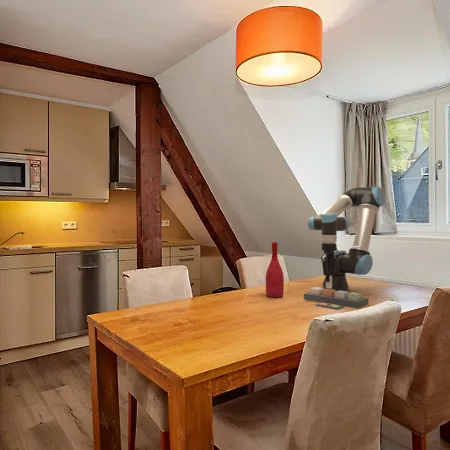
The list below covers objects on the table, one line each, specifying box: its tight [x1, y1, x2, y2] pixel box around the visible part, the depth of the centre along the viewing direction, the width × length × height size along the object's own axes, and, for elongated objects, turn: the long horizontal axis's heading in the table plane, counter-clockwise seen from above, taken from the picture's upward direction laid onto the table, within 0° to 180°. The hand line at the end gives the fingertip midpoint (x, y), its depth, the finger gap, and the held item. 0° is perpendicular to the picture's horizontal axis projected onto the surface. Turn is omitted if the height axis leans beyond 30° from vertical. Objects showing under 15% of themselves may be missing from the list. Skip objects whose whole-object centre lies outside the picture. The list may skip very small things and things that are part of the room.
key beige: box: [335, 290, 349, 299], centre depth 201 cm, size 5×5×3 cm
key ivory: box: [310, 286, 324, 295], centre depth 210 cm, size 5×5×3 cm
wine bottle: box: [265, 241, 285, 299], centre depth 216 cm, size 10×10×30 cm
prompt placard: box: [315, 302, 345, 310], centre depth 192 cm, size 12×6×1 cm, turn 47°
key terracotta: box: [322, 289, 336, 297], centre depth 206 cm, size 5×5×3 cm
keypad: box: [303, 291, 369, 309], centre depth 203 cm, size 30×12×3 cm, turn 47°
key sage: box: [348, 291, 363, 301], centre depth 196 cm, size 5×5×3 cm
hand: (328, 287), depth 205 cm, fingers closed
